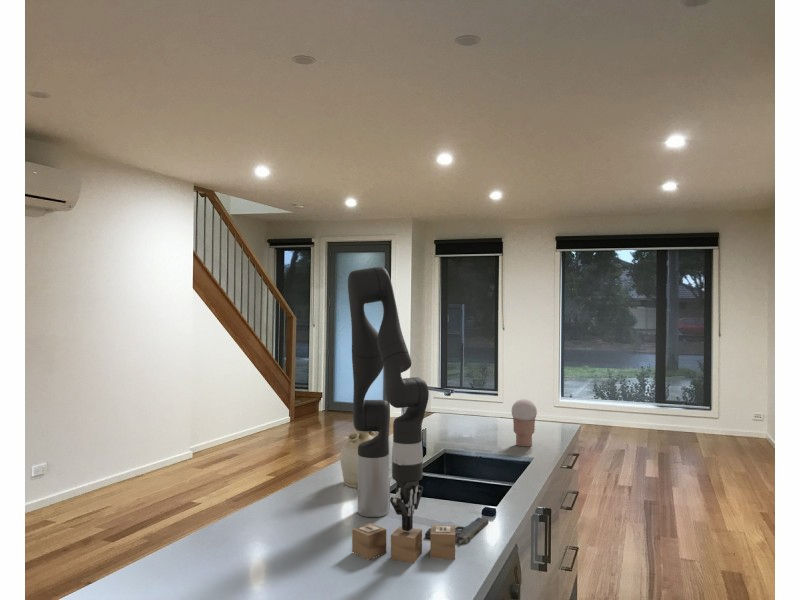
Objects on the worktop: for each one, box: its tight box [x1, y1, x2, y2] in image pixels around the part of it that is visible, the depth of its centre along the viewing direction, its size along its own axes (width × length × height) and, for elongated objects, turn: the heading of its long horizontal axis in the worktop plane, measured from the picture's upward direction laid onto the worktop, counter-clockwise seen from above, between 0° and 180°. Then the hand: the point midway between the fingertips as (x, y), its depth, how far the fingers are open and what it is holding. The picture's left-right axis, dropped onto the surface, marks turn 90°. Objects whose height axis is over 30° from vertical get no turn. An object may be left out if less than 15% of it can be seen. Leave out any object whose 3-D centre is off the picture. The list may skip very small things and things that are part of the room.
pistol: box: [424, 516, 489, 546], centre depth 167 cm, size 2×19×12 cm
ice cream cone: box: [511, 398, 538, 447], centre depth 268 cm, size 11×11×20 cm
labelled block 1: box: [351, 522, 387, 560], centre depth 152 cm, size 6×6×6 cm
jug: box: [339, 422, 376, 489], centre depth 210 cm, size 15×16×25 cm
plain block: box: [390, 525, 423, 564], centre depth 150 cm, size 6×6×6 cm
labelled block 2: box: [429, 524, 456, 560], centre depth 152 cm, size 6×6×6 cm
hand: (407, 529), depth 150 cm, fingers closed
